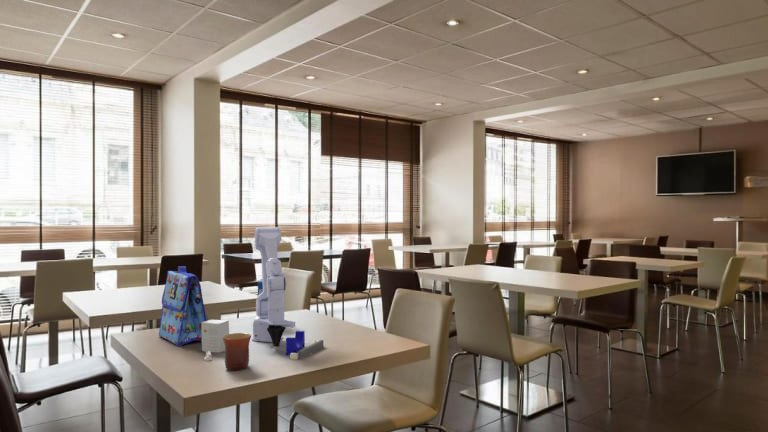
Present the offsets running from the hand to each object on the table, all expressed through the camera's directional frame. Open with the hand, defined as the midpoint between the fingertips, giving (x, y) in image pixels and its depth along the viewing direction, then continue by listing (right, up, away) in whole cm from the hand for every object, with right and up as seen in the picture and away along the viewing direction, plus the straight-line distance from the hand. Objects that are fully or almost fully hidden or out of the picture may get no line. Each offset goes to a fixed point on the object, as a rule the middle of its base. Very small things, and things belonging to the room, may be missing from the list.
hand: (276, 346), depth 188 cm
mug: (-8, -1, -22) cm, 23 cm away
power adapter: (-22, -2, -14) cm, 26 cm away
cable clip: (+6, -2, -2) cm, 7 cm away
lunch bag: (-40, -2, +17) cm, 43 cm away
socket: (+12, -1, -4) cm, 13 cm away
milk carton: (-13, -1, +40) cm, 42 cm away
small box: (-22, -2, -1) cm, 22 cm away
